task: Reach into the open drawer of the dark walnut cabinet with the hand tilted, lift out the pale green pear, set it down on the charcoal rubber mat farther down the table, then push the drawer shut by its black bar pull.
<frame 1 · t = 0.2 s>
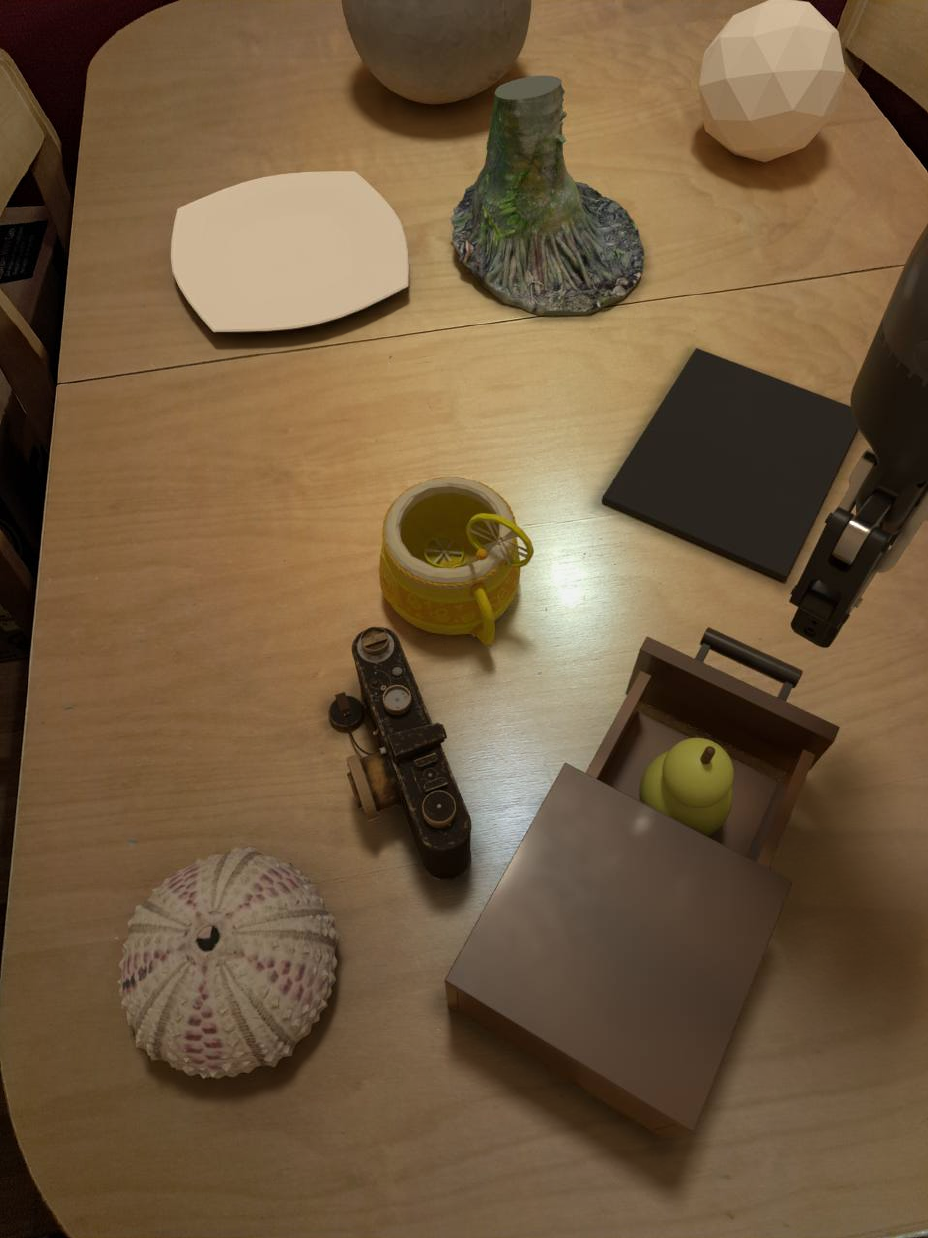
hand: (849, 584, 50), 20 cm above the table, tool pointing down, fingers open, 8 cm apart
geometric sphere: (751, 147, 104), on the table
plate: (292, 263, 94), on the table
tree stump: (542, 251, 95), on the table
pear: (675, 811, 63), point 2 cm above the table, touching drawer
mat: (735, 458, 81), on the table
camera: (397, 776, 66), on the table
bowl: (439, 87, 110), on the table
sea urchin shell: (237, 968, 60), on the table
cabinet: (603, 960, 60), on the table
mug: (455, 596, 74), on the table
drawer: (702, 757, 62), point 4 cm above the table, slide at 10.0 cm, touching pear
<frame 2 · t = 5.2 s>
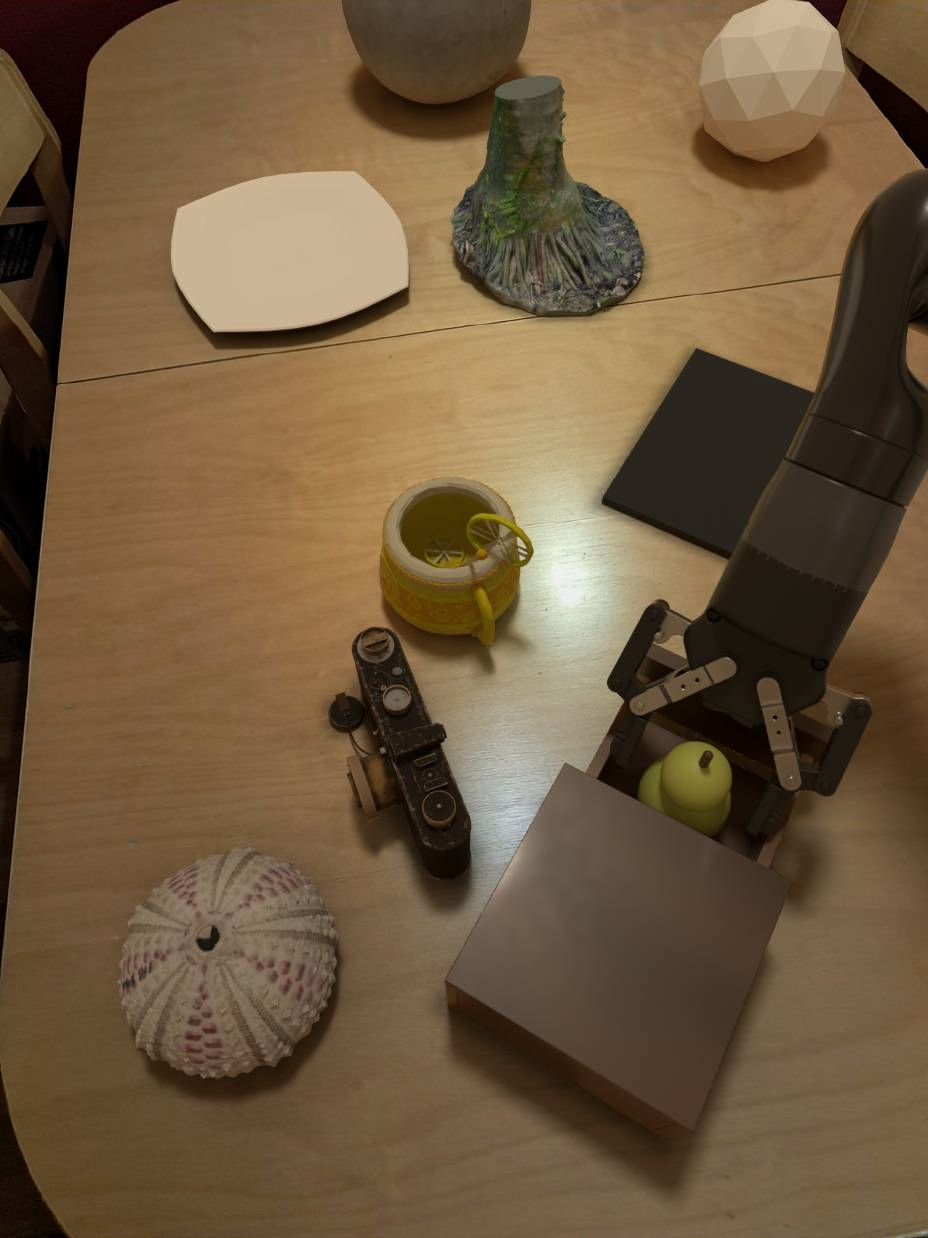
hand: (684, 798, 57), 7 cm above the table, tool tilted 45°, fingers open, 8 cm apart
drawer: (700, 761, 62), point 4 cm above the table, slide at 9.7 cm, touching gripper, pear
everything else where it was.
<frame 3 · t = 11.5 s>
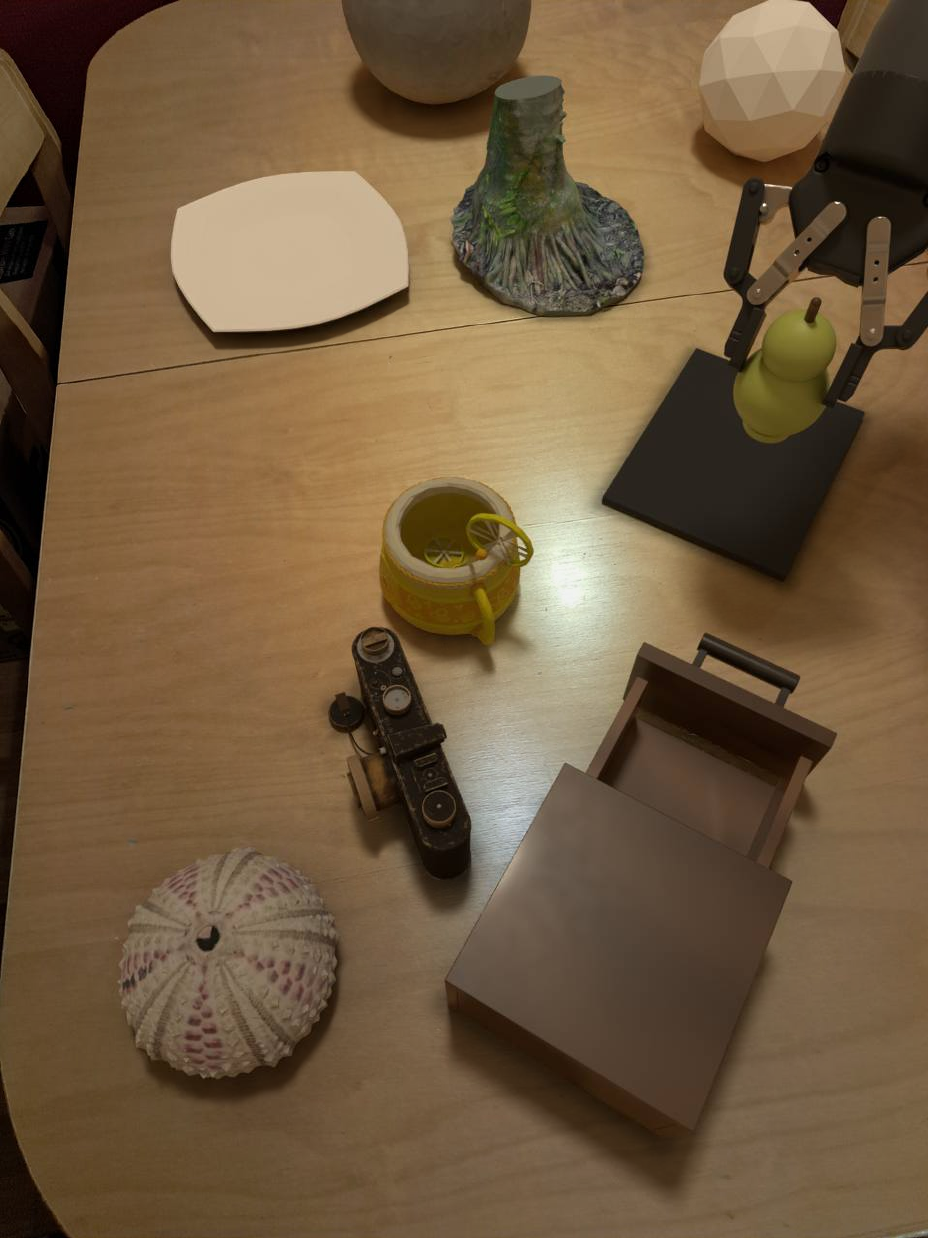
hand: (781, 386, 57), 20 cm above the table, tool tilted 45°, fingers closed on pear, 5 cm apart
pear: (767, 424, 62), point 16 cm above the table, touching gripper
drawer: (699, 763, 62), point 4 cm above the table, slide at 9.5 cm
everything else where it was.
when the fingers open (6 cm above the table, at t = 17.3 s): pear stays where it is, resting on mat.
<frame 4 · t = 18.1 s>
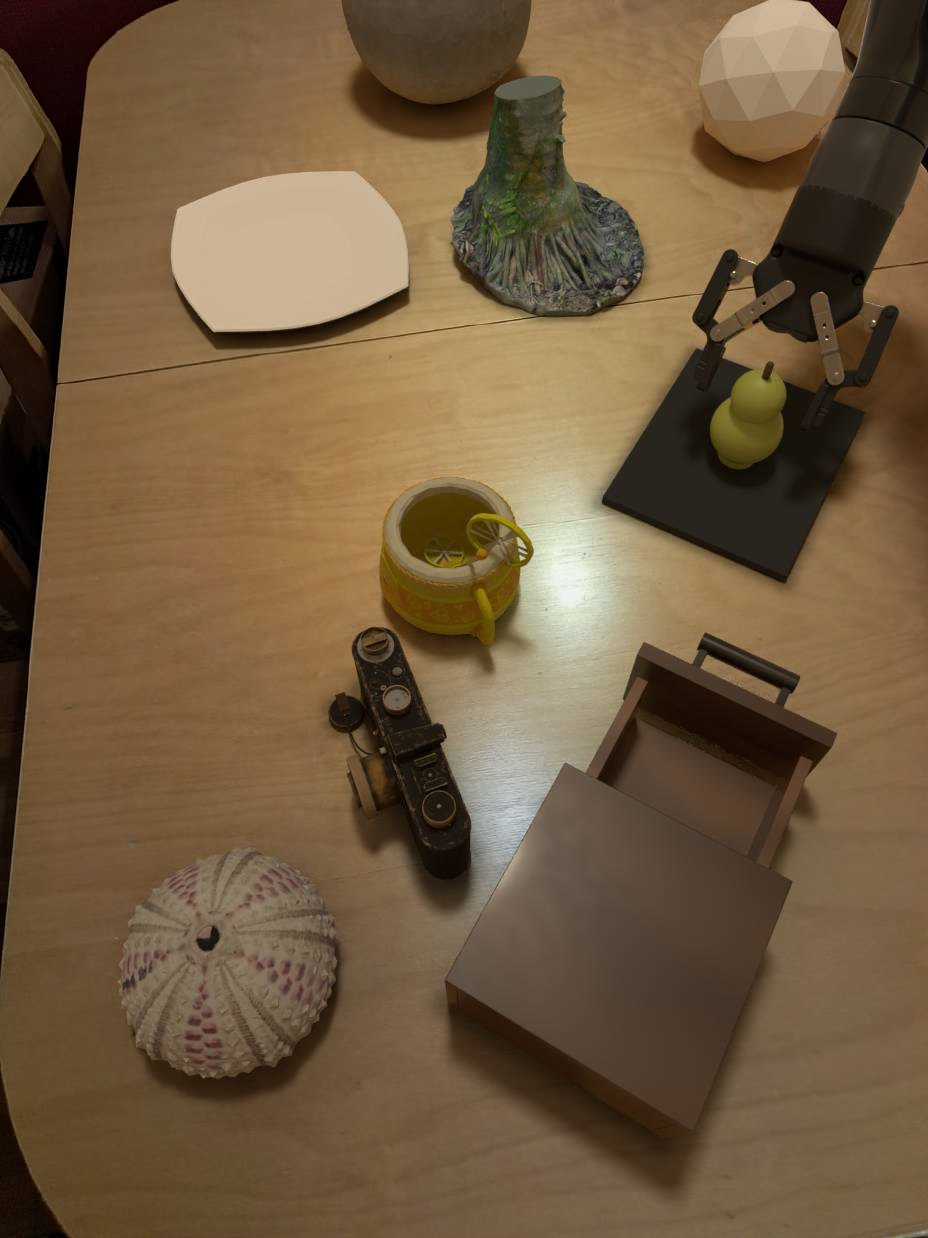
hand: (751, 410, 74), 7 cm above the table, tool tilted 45°, fingers open, 8 cm apart
pear: (736, 455, 80), point 1 cm above the table, touching mat
everything else where it was.
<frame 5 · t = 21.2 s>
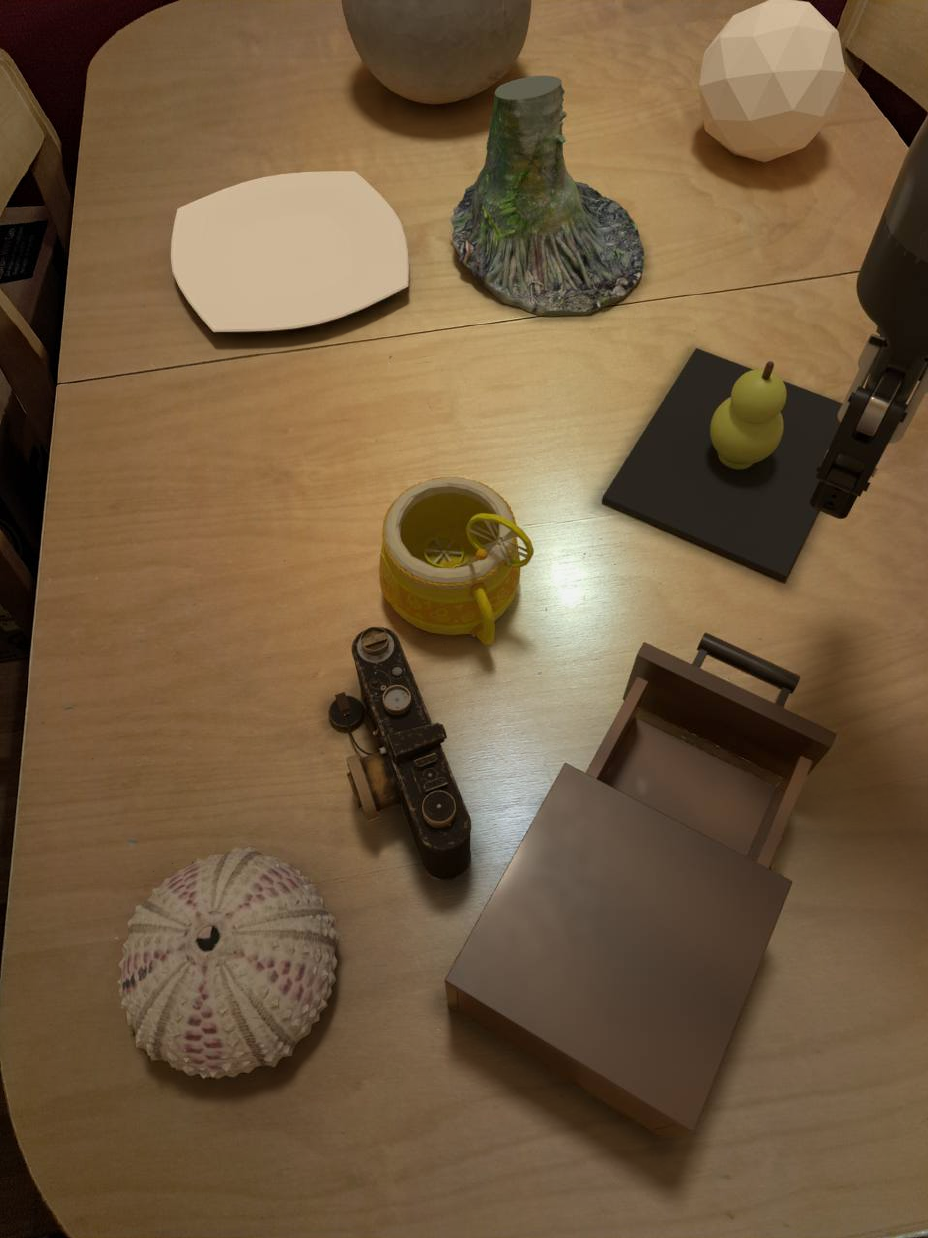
hand: (853, 461, 56), 19 cm above the table, tool pointing down, fingers open, 8 cm apart
nothing on the table moved.
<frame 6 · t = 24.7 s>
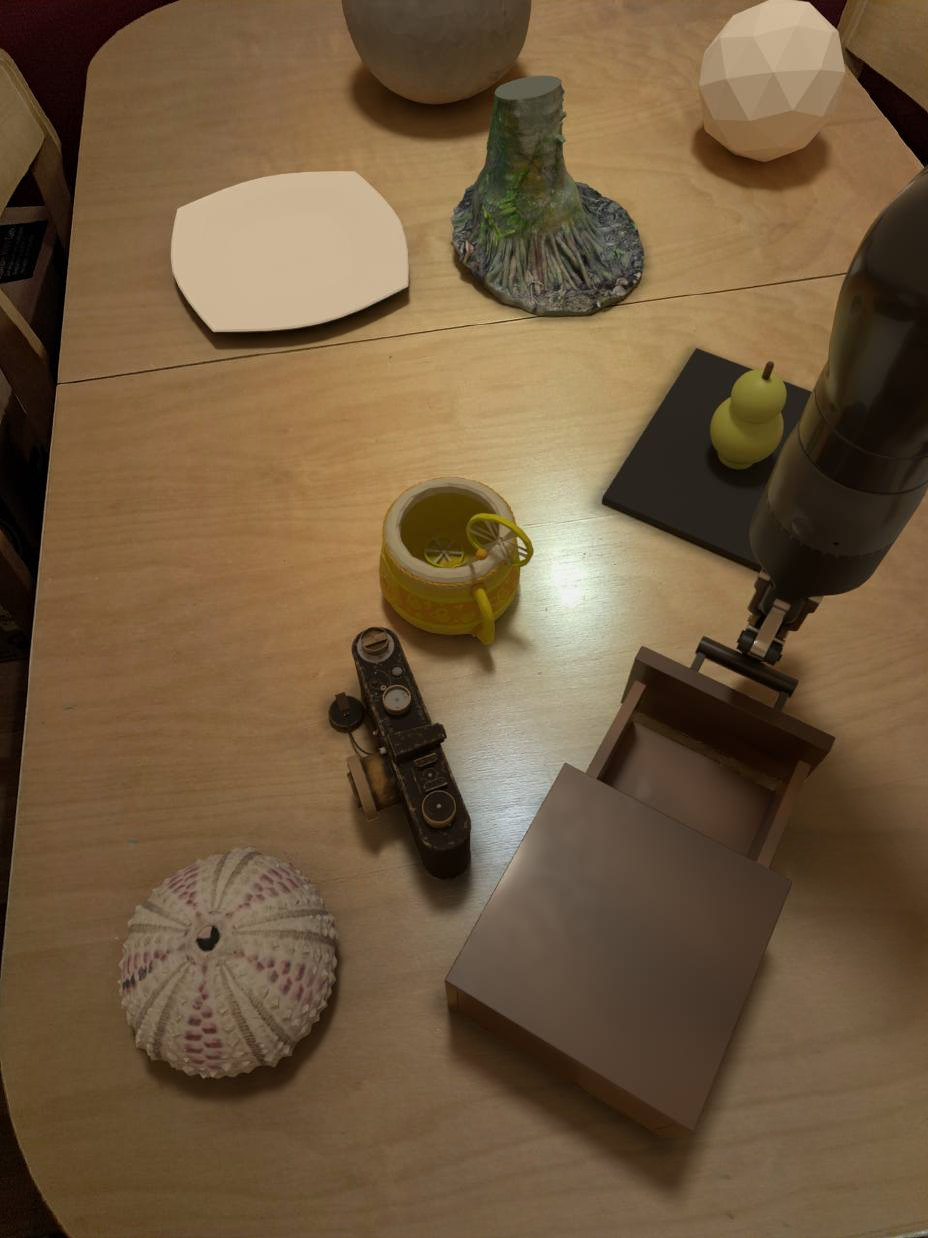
hand: (755, 648, 66), 4 cm above the table, tool pointing down, fingers closed
drawer: (697, 767, 62), point 4 cm above the table, slide at 9.2 cm, touching gripper
everything else where it was.
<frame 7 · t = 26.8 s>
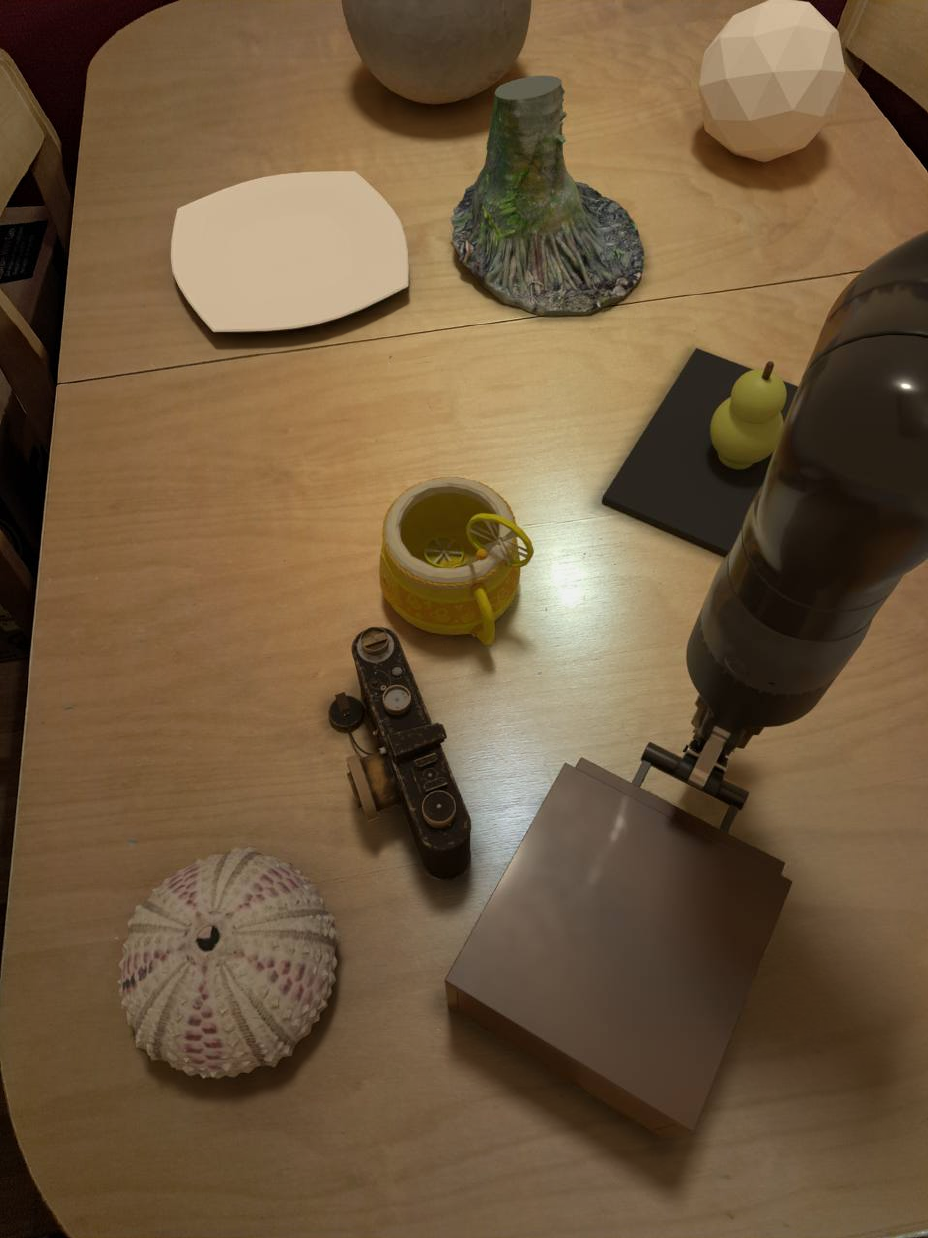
hand: (704, 754, 62), 4 cm above the table, tool pointing down, fingers closed
drawer: (639, 889, 58), point 4 cm above the table, slide at 0.0 cm, touching cabinet, gripper
everything else where it was.
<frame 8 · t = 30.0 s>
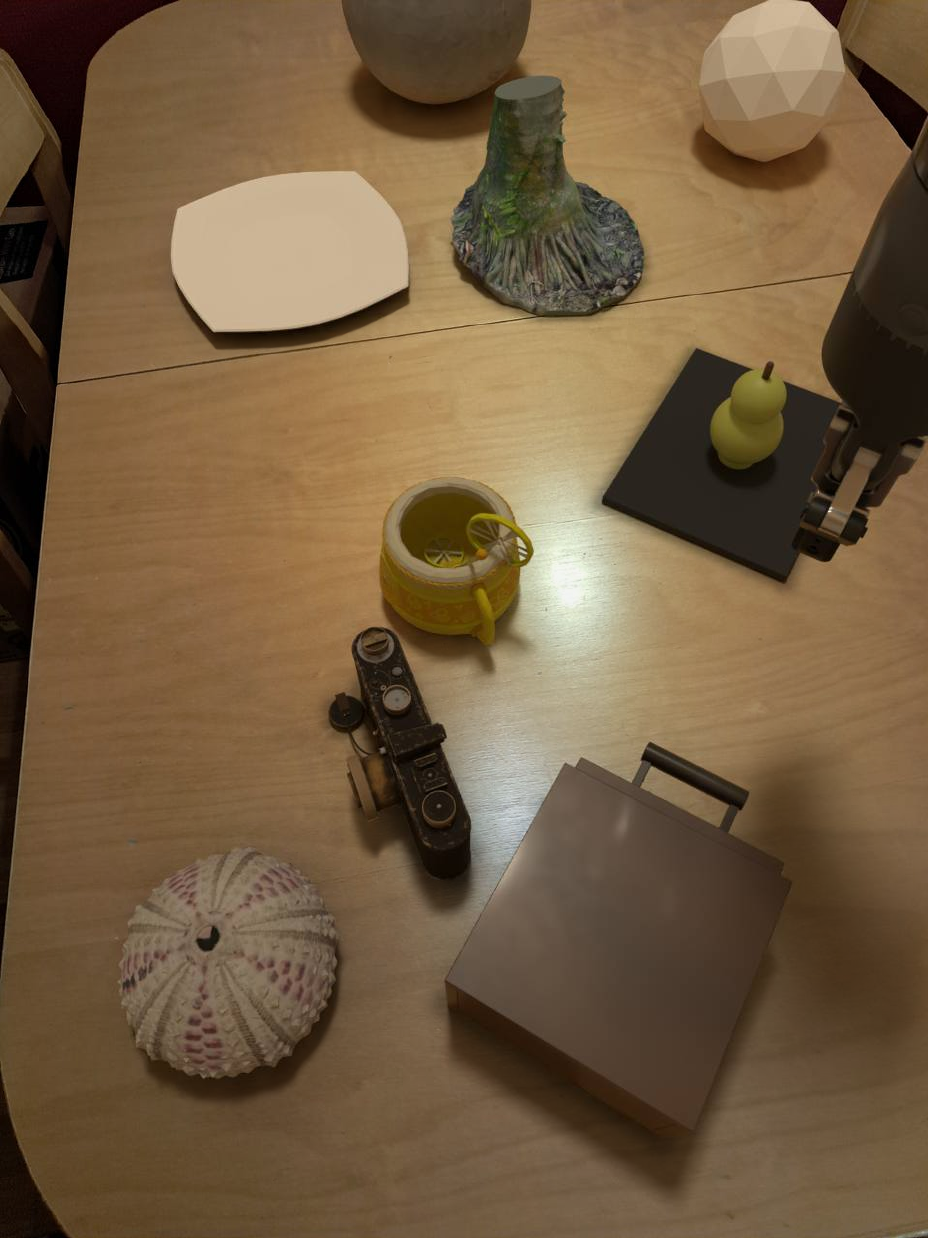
hand: (813, 546, 51), 21 cm above the table, tool pointing down, fingers closed
drawer: (639, 889, 58), point 4 cm above the table, slide at 0.0 cm
everything else where it was.
at the end: pear inside the target area on the mat (0.3 cm from its centre), point 0.8 cm above the mat's base; pear tilted 0°; drawer slide at 0.0 cm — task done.
